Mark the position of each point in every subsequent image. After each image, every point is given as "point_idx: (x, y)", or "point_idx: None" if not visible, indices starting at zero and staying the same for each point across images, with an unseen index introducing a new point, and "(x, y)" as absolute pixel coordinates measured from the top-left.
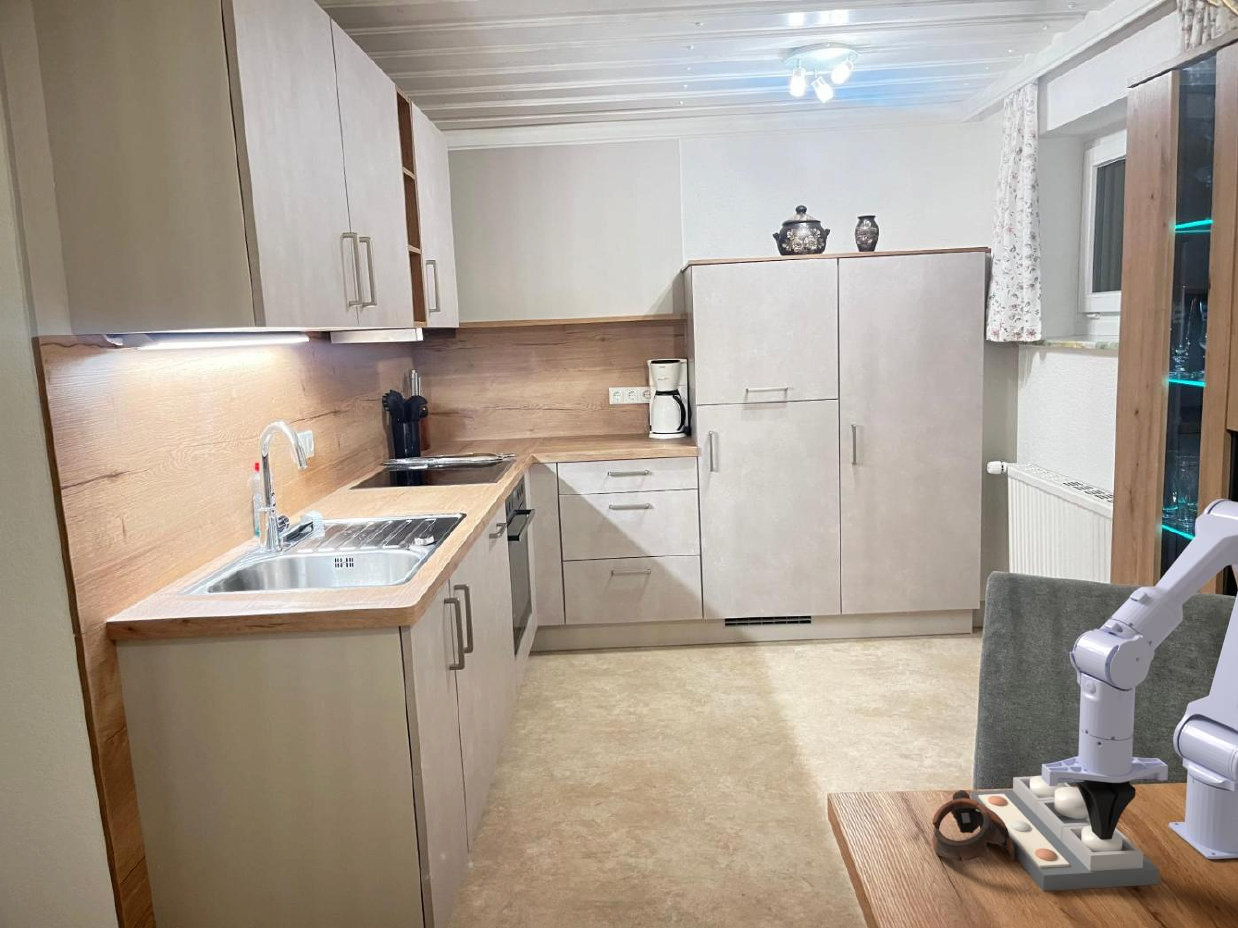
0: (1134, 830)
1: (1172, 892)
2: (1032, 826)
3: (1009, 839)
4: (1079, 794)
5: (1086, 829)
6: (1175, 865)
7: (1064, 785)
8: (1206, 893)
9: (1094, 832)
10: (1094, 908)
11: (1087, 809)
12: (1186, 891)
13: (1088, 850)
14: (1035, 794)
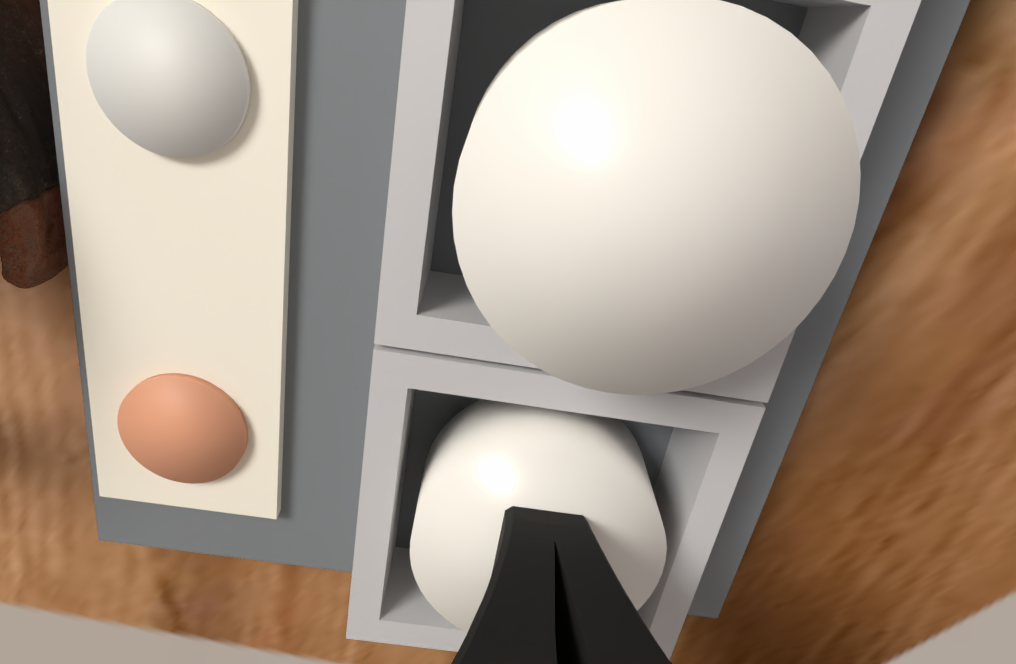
0: None
1: None
2: (274, 98)
3: (4, 229)
4: (729, 224)
5: (484, 483)
6: (914, 469)
7: None
8: (826, 634)
9: (500, 540)
10: (306, 611)
11: (477, 616)
12: (763, 611)
13: (365, 602)
14: None
